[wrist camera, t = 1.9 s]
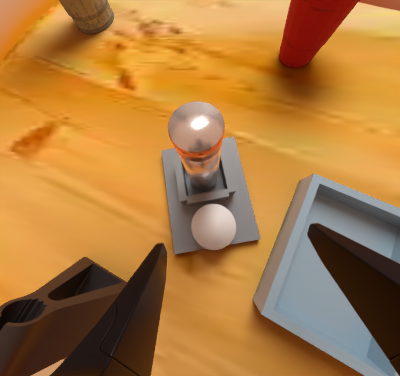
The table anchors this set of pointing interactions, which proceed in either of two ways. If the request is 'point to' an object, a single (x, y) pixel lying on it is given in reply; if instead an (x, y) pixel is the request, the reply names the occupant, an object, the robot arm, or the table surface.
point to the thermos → (89, 14)
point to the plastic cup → (310, 28)
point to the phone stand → (54, 317)
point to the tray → (320, 277)
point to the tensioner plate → (216, 195)
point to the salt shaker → (198, 141)
